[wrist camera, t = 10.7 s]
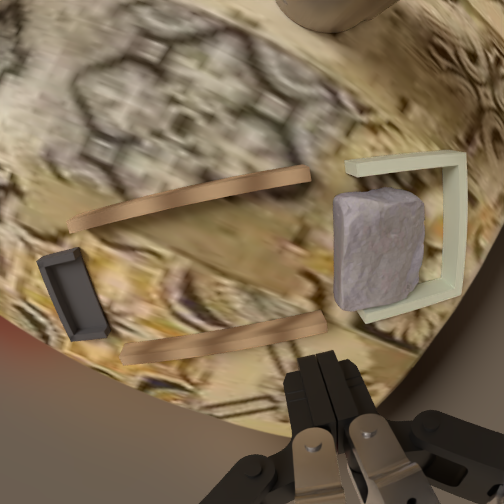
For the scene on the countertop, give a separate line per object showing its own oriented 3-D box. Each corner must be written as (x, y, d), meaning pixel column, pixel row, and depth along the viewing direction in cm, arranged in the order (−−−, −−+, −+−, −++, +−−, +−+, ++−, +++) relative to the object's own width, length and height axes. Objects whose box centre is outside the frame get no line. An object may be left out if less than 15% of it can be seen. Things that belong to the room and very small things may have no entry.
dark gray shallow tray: (78, 246, 29) (72, 252, 28) (110, 330, 33) (106, 337, 31) (42, 256, 29) (36, 261, 28) (75, 334, 33) (71, 341, 31)
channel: (302, 164, 28) (309, 167, 26) (321, 319, 34) (327, 331, 32) (77, 214, 28) (66, 221, 26) (128, 351, 34) (123, 365, 32)
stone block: (403, 181, 31) (322, 191, 29) (434, 190, 27) (350, 202, 25) (397, 280, 36) (325, 302, 34) (423, 298, 31) (347, 325, 29)
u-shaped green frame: (449, 149, 28) (466, 152, 25) (447, 284, 34) (461, 294, 31) (344, 160, 28) (356, 163, 25) (356, 309, 34) (365, 323, 31)
